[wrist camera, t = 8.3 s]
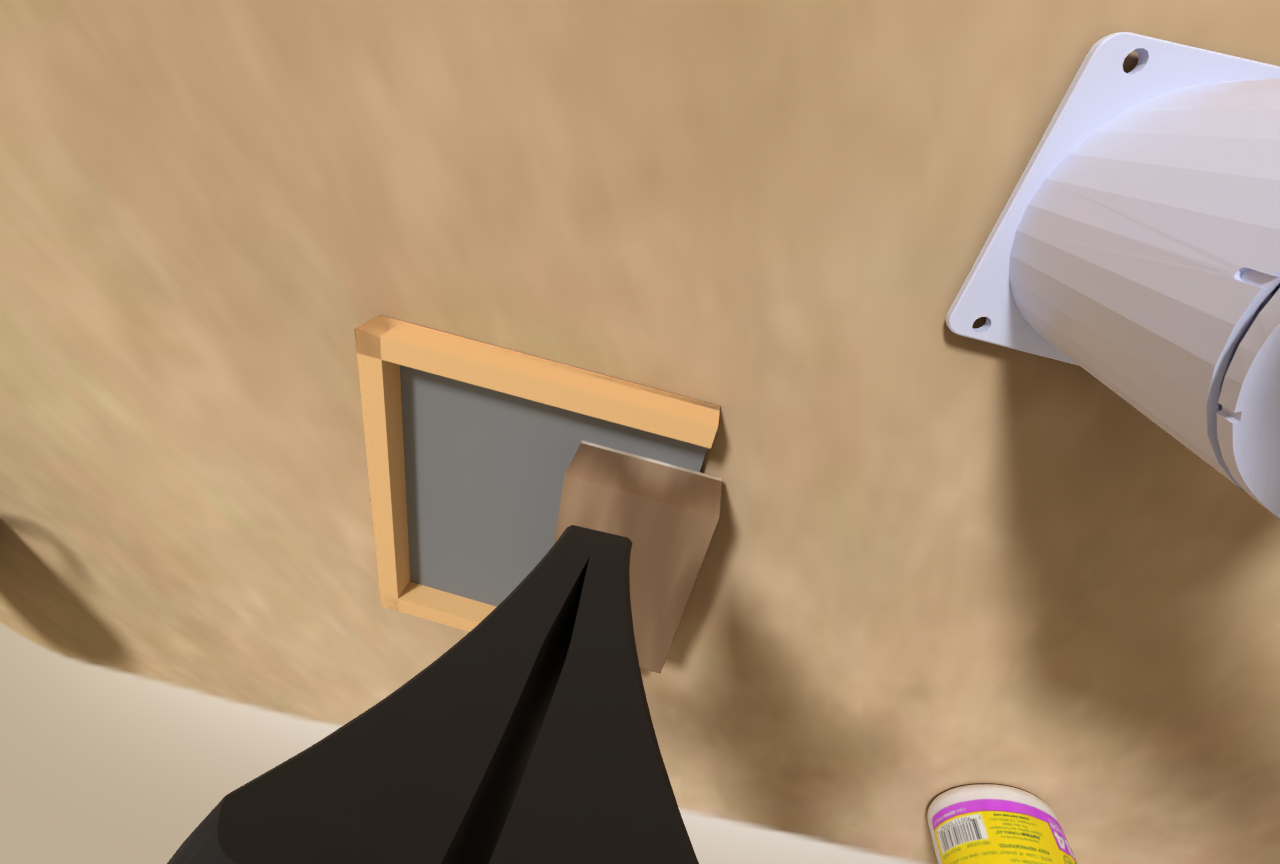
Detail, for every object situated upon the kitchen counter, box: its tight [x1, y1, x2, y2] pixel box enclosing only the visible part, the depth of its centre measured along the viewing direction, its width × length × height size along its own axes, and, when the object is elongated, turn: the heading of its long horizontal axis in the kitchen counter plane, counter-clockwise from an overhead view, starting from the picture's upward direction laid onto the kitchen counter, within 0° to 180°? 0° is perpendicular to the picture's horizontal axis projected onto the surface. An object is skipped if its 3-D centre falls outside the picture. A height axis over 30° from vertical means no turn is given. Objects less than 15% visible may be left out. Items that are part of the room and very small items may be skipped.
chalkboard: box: [355, 315, 720, 632], centre depth 24 cm, size 14×16×2 cm
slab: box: [553, 440, 722, 673], centre depth 24 cm, size 2×10×6 cm
